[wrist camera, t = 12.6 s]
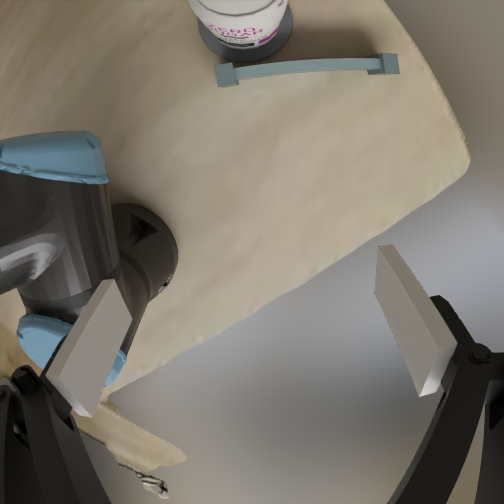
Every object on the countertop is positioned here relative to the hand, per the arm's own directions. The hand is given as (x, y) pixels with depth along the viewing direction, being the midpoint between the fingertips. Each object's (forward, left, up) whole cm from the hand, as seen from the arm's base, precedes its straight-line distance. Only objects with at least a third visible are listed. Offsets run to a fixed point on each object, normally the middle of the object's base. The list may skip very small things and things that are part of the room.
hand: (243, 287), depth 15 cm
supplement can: (+2, +18, -26) cm, 32 cm away
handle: (+8, +11, -27) cm, 30 cm away
